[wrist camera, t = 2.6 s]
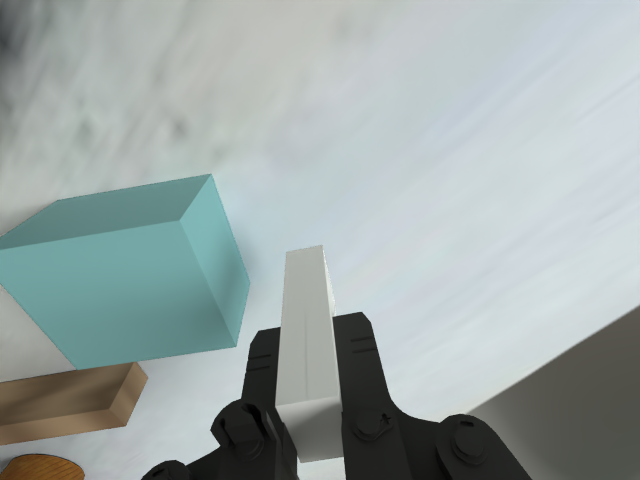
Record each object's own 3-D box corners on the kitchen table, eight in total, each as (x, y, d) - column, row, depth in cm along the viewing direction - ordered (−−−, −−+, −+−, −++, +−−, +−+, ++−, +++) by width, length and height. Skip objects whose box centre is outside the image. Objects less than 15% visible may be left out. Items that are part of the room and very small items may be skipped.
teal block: (212, 172, 16) (179, 220, 12) (250, 280, 20) (236, 347, 15) (59, 198, 16) (-26, 254, 12) (125, 300, 20) (77, 370, 16)
